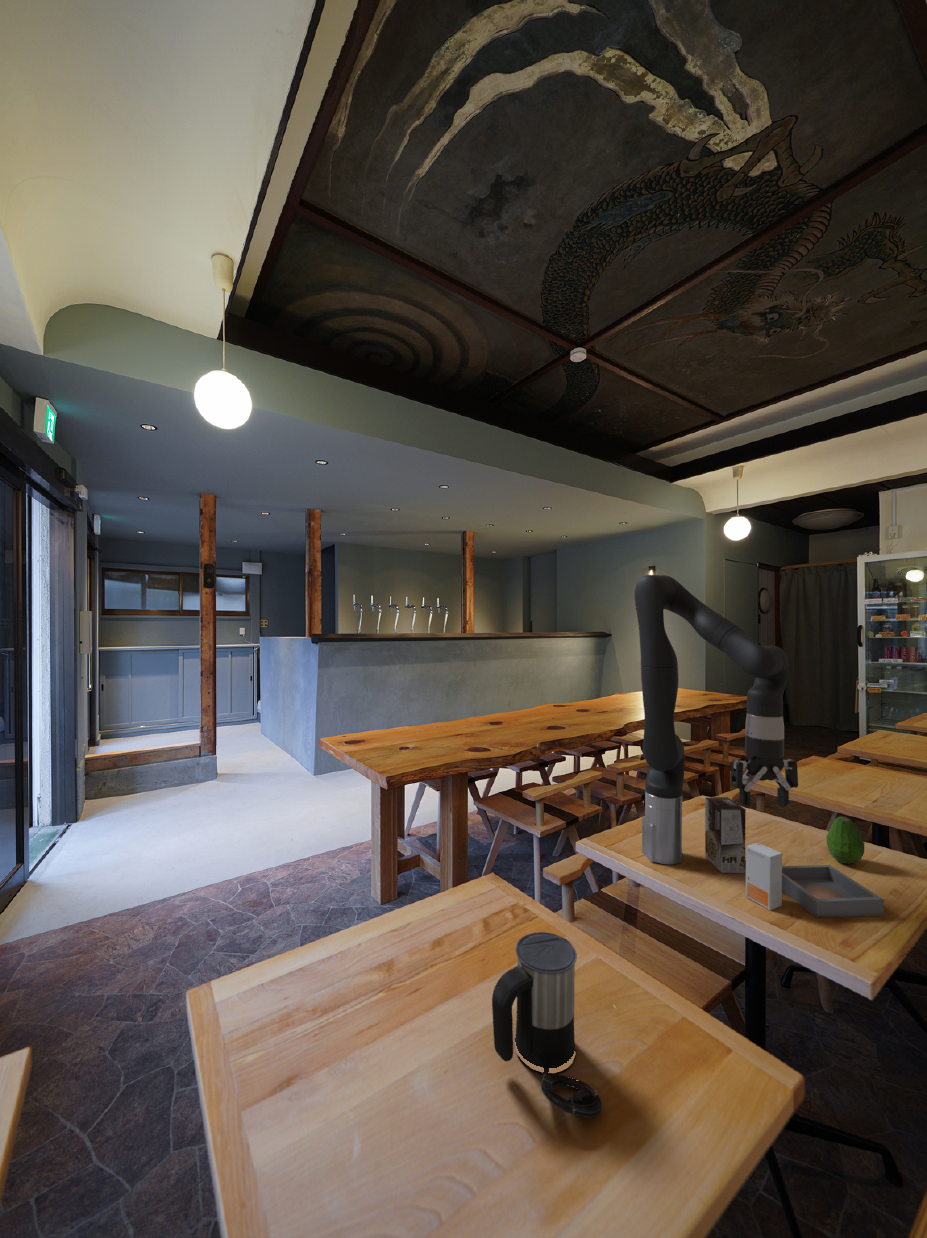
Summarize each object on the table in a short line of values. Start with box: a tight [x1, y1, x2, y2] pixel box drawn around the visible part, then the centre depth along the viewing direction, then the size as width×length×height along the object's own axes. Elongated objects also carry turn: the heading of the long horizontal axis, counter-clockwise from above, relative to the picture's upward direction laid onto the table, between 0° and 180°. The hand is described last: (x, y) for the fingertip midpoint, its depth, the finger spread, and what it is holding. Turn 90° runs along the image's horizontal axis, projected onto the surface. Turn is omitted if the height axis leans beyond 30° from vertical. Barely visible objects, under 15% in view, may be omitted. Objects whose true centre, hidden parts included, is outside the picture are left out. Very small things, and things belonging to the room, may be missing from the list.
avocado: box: [826, 816, 865, 865], centre depth 133 cm, size 8×8×12 cm
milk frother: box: [491, 931, 603, 1119], centre depth 72 cm, size 14×16×15 cm
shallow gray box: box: [782, 864, 884, 919], centre depth 117 cm, size 15×15×4 cm
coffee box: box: [704, 796, 747, 874], centre depth 132 cm, size 9×6×16 cm
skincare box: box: [744, 842, 783, 911], centre depth 115 cm, size 6×4×12 cm
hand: (764, 806), depth 114 cm, fingers open, 8 cm apart
